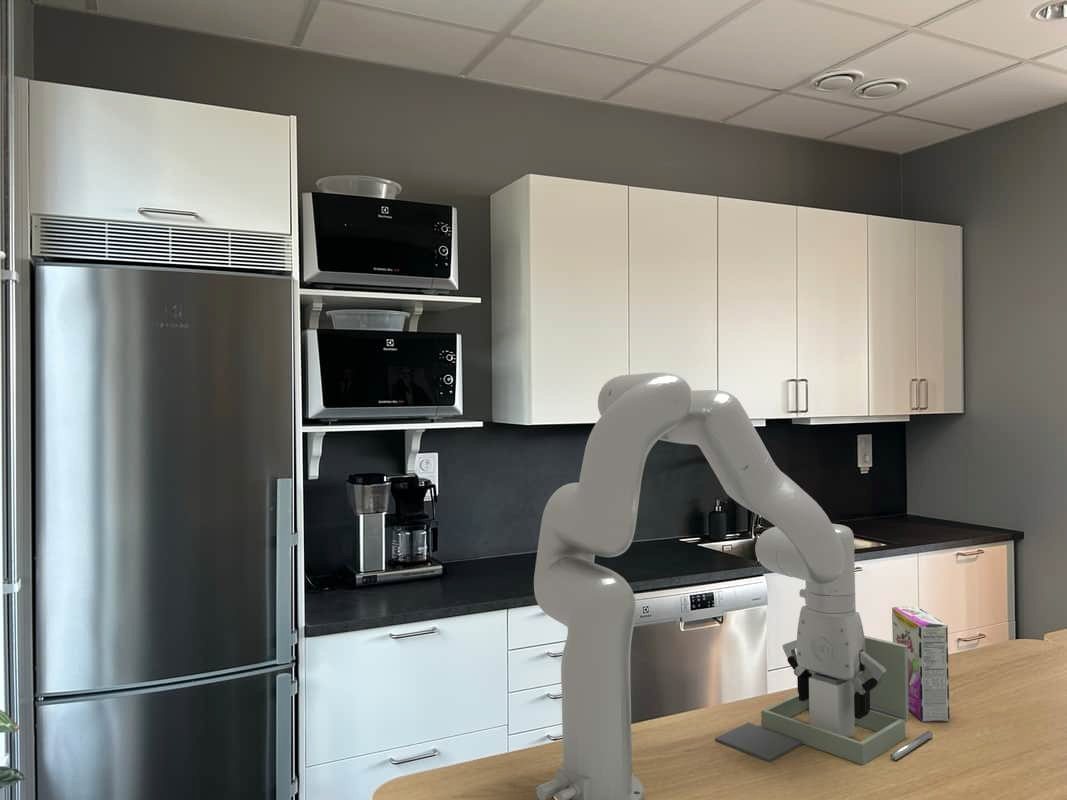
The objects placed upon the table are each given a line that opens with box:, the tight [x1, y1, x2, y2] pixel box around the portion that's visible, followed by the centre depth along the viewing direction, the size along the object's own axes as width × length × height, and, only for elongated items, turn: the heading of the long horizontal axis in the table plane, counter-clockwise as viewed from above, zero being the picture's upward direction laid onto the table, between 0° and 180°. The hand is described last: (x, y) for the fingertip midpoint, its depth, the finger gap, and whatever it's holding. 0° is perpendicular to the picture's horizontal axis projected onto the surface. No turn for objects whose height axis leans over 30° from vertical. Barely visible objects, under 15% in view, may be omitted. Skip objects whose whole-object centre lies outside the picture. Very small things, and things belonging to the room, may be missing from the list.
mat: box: [714, 721, 804, 763], centre depth 126 cm, size 9×10×1 cm
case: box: [760, 635, 910, 766], centre depth 129 cm, size 15×17×14 cm
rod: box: [889, 730, 934, 761], centre depth 123 cm, size 12×1×1 cm, turn 130°
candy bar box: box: [891, 606, 950, 723], centre depth 138 cm, size 11×5×16 cm, turn 179°
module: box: [808, 673, 856, 738], centre depth 129 cm, size 5×5×10 cm
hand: (833, 707), depth 129 cm, fingers open, 9 cm apart
